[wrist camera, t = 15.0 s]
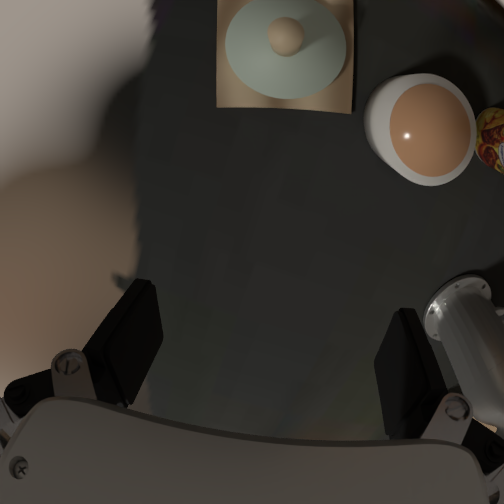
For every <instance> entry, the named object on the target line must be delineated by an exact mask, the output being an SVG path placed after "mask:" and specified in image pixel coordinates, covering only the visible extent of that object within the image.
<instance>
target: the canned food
mask: <svg viewBox="0 0 504 504" xmlns="http://www.w3.org/2000/svg"><path fill="white" fill-rule="evenodd" d="M476 131H477V136H476V145H475V150H476V153H477V155H478V157H479V158H480V160H481V161H482V162H483V163H484V164H486V165H488V166H490V167H492V168H493V169H495V170H497V171H499V172H501V173H503V174H504V109H499V108H495V107H492V108H487V109H485V110H483V111H482V112H481V113H480V114H479V115H478V117H477V119H476Z"/></svg>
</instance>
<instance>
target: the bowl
mask: <svg viewBox="0 0 504 504" xmlns="http://www.w3.org/2000/svg"><path fill="white" fill-rule="evenodd" d="M363 124H364V130H365V134H366V137H367V140H368V142H369V144H370V146H371V148H372V149H373V151H374V152H375V153H376V154H377V155H378V157H380V158H381V159H382V160H383V161H384V162H386V163H387V164H388V165H389V166H391V167H392V168H393V169H395V170H396V171H397V172H398V173H400V174H401V175H402V176H404V177H405V178H406V179H408V180H410V181H412V182H414V183H417V184H420V185H426V186H436V185H441V184H444V183H447V182H449V181H451V180H453V179H454V178H456V177H457V176H458V175H459V174H460V173H461V172H462V171H463V170H464V169H465V168H466V166H467V165H468V163H469V162H470V160H471V158H472V155H473V152H474V149H475V145H476V136H477V131H476V121H475V117H474V114H473V111H472V108H471V106H470V104H469V102H468V100H467V99H466V97H465V96H464V94H463V93H462V92H461V91H460V90H459V89H458V88H457V87H456V86H455V85H454V84H453V83H451V82H450V81H448V80H446V79H445V78H443V77H440V76H437V75H433V74H425V73H422V74H411V75H401V76H394V77H391V78H388V79H386V80H384V81H383V82H381V83H380V84H378V85H377V86H376V87H375V88H374V90H373V91H372V92H371V94H370V95H369V97H368V99H367V102H366V104H365V108H364V114H363Z"/></svg>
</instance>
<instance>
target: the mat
mask: <svg viewBox="0 0 504 504" xmlns="http://www.w3.org/2000/svg"><path fill="white" fill-rule="evenodd" d="M251 1H253V0H218V9H217V107H264V108H289V109H305V110H317V111H328V112H338V113H346V114H351V107H352V87H353V55H354V17H353V0H315V1H317V2H318V3H320V4H322V5H323V6H324V7H326V8H327V9H328V10H329V11H330V12H331V13H332V14H333V15H334V16H335V18H336V19H337V20H338V22H339V24H340V25H341V27H342V30H343V32H344V35H345V40H346V57H345V61H344V64H343V67H342V69H341V71H340V72H339V74H338V76H337V77H336V78H335V79H334V80H333V81H332V82H331V83H330V84H329V85H328V86H327V87H325V88H324V89H323V90H321V91H319V92H317V93H315V94H312V95H310V96H307V97H303V98H296V99H280V98H274V97H269V96H266V95H263V94H261V93H259V92H257V91H255V90H253V89H252V88H250V87H248V86H247V85H246V84H245V83H243V82H242V81H241V80H240V79H239V78H238V76H237V75H236V74H235V72H234V71H233V70H232V68H231V66H230V64H229V61H228V59H227V55H226V49H225V39H226V33H227V29H228V27H229V25H230V22H231V21H232V19H233V17H234V16H235V15H236V14H237V12H238V11H239V10H240V9H241V8H242V7H244V6H245V5H246V4H248V3H249V2H251Z"/></svg>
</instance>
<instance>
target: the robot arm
mask: <svg viewBox="0 0 504 504" xmlns="http://www.w3.org/2000/svg"><path fill="white" fill-rule="evenodd" d="M503 314H504V308H503V307H495V306H494V305H493V303H492V302H491V290H490V287H489V285H488V283H487V282H486V281H485V280H484V279H483V278H482V277H481V276H478V275H475V274H468V275H462V276H459V277H457V278H455V279H453V280H451V281H449V282H448V283H446V284H445V285H444V286H442V287H441V288H440V289H439V290H438V291H437V292H436V293H435V294H434V296H433V297H432V298H431V300H430V301H429V303H428V305H427V307H426V309H425V312H424V317H423V323H424V327H425V329H426V332H427V333H428V335H429V336H430V337H431V338H433V339H435V340H439V341H442V344H443V346H444V348H445V350H446V353H447V355H448V357H449V360H450V362H451V365H452V367H453V369H454V372H455V374H456V377H457V379H458V382H459V385H460V387H461V390H462V392H463V395H461V394H459V393H449V394H448V391H447V388H446V385H445V382H444V379H443V376H442V374H441V371H440V368H439V365H438V363H437V360H436V357H435V355H434V352H433V350H432V347H431V345H430V343H429V341H428V339H427V337H426V334H425V332H424V329H423V327H422V324H421V322H420V320H419V317H418V315H417V313H416V311H415V309H412V308H400V309H399V311H396V312H395V313H394V315H393V317H392V320H391V322H390V325H389V327H388V330H387V332H386V334H385V337H384V339H383V341H382V344H381V346H380V348H379V351H378V353H377V355H376V357H375V361H374V368H375V374H376V379H377V384H378V390H379V396H380V402H381V408H382V414H383V421H384V427H385V433H386V435H389V438H390V440H368V441H326V440H304V439H289V438H277V437H267V436H258V435H250V434H243V433H236V432H229V431H223V430H217V429H212V428H206V427H201V426H196V425H191V424H186V423H182V422H177V421H173V420H169V419H165V418H161V417H157V416H153V415H149V414H145V413H141V412H138V411H134V410H130V409H127V407H128V405H129V404H130V405H131V404H133V402H134V400H135V398H136V396H137V394H138V391H139V390H140V387H141V385H142V383H143V381H144V379H145V377H146V375H147V373H148V371H149V368H150V366H151V364H152V362H153V360H154V358H155V356H156V354H157V352H158V350H159V348H160V346H161V344H162V341H163V330H162V324H161V319H160V313H159V307H158V301H157V294H156V288H155V285H153V284H152V283H151V281H150V280H144V279H138V278H137V279H135V280H134V281H133V283H132V284H131V285H130V287H129V288H128V289H127V291H126V292H125V293H124V295H123V296H122V297H121V299H120V300H119V301H118V302H117V304H116V305H115V307H114V308H112V309H111V310H110V312H109V313H108V315H107V316H106V317H105V319H104V320H103V321H102V323H101V324H100V326H99V327H98V328H97V330H96V331H95V333H94V334H93V335H92V337H91V338H90V340H89V341H88V342H87V344H86V345H85V347H84V348H83V350H82V351H80V350H77V349H66V350H63V351H61V352H60V353H58V354H57V355H56V356H55V357H54V358H53V360H52V363H51V369H48V370H45V371H42V372H38V373H35V374H33V375H29V376H26V377H23V378H20V379H17V380H14V381H12V382H11V383H10V384H9V385H8V386H7V387H6V389H5V391H4V397H2V398H1V397H0V504H504V324H503V318H502V317H499V316H498V315H503ZM472 417H474V418H475V419H476V420H478V421H480V422H482V423H485V424H488V425H492V426H495V427H497V431H496V432H495V433H494V432H493V431H491V430H490V429H488V428H487V427H485V426H484V425H482V424H481V423H479V422H478V421H476V420H475V419H473V418H472Z"/></svg>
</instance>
